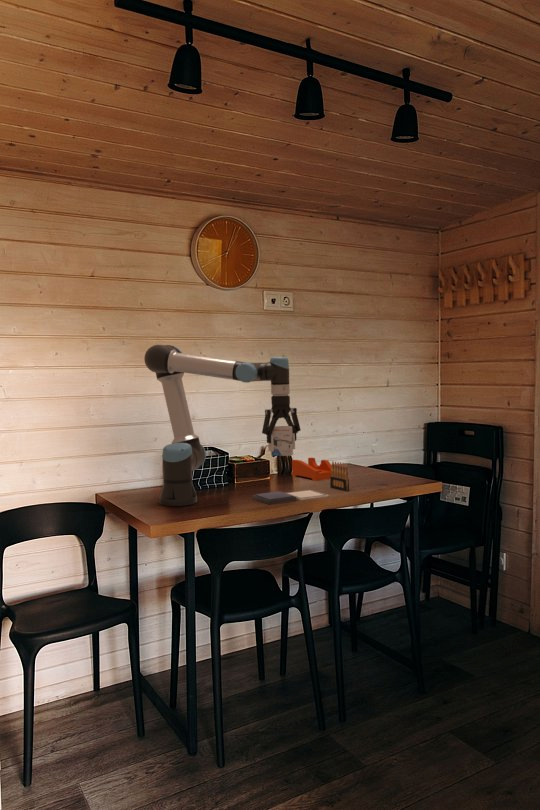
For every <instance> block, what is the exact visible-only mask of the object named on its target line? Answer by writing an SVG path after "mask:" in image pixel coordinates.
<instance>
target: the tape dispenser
mask: <svg viewBox="0 0 540 810" xmlns="http://www.w3.org/2000/svg"><path fill="white" fill-rule="evenodd" d="M331 469H332V463H331V462H330V461H329V460H327V459H321V460H320V464H319V465H318V464H317V461H316V458H315V457H308V458H307V463H306V462H304V461H303V460H300V459H292V460H291V476H292V477H295V478H296V477H304V478H309V479H311V480H312V481H313V482H314V481H315V482H318V481H323V480H324V479H326V480H330V477H331ZM324 481H325V480H324Z"/></svg>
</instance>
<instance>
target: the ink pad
mask: <svg viewBox="0 0 540 810" xmlns="http://www.w3.org/2000/svg"><path fill="white" fill-rule="evenodd" d="M286 493H287V492H283V491H281V490H278V491H271V492H264V493H263V492H262V493H255V494H253V495H252V500H254V501H258V502H261V503H262V504H267V505H276V504H282V503H290V502H296V501H297V499H296V497H295V496H292V495H289V494H286Z"/></svg>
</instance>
